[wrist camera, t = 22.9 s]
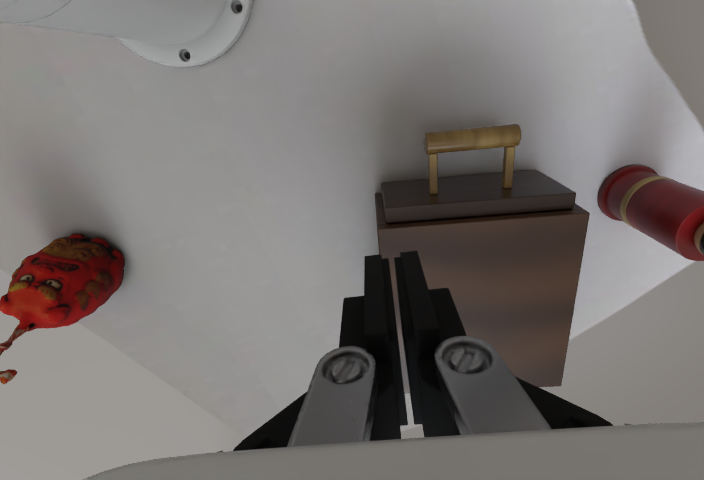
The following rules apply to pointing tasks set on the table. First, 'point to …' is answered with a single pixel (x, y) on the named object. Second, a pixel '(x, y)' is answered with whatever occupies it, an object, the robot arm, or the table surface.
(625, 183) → the red cylinder
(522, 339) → the cabinet
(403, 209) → the drawer
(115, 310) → the table surface
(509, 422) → the robot arm
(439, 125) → the table surface
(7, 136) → the table surface
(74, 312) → the red clay folk toy
